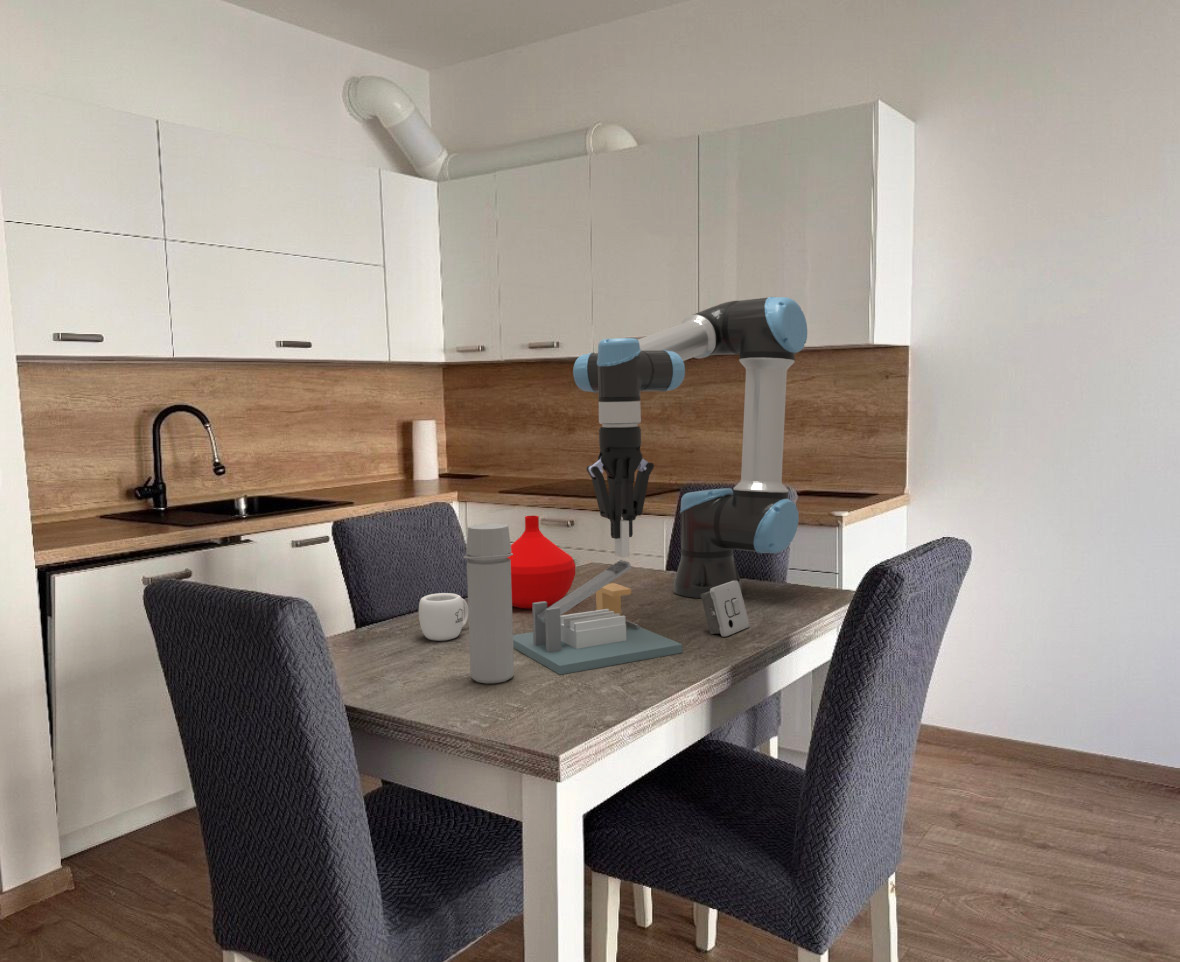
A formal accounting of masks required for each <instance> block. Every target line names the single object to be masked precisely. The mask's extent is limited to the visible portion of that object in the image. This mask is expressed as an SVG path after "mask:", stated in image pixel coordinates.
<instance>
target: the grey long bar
mask: <svg viewBox="0 0 1180 962" xmlns="http://www.w3.org/2000/svg"><path fill="white" fill-rule="evenodd" d="M631 569H632V565H631V563H630V561H626V560H623V559H620V560H618V561H617V562H615V563H614V564H613V565H611V566H609V567H608V568H606V569H604V570H603V571H602V572H600V573H598V574H597V575H595V576H594V577H592V578H591V579H590V580H587V582H585V583H583V584H582V585H581V586H579V587H577V588H576V589H574V590H573V591H571V592H570V593H567V595H565V596H564V598H562V599H561V600H559V601H558V602H556V603H554V604H553V605H551V606H549V607H547V608H554V607H559V608H560V616H562V615H564V613H565V614H566V612H568V611H569V610H571V609H573V608H574V607H575V606H577V605H578V604H580V603H581V602H582V601H584V600H586V599H588V597H591V596H592V595H593V594H596V591H598V590H599V589H601V588H602V587H604V586H605V585H607V584H610V583H612V582H613V581H614V580H616V579H617V578H619V577H621V576H622V575H623V574H625V573H626V572H628V571H629V570H631ZM537 617H538V619H539V621H541V622H543V623H545V610H544V611H542V612H541V613H539V614H538V615H537Z"/></svg>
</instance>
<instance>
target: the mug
mask: <svg viewBox="0 0 1180 962" xmlns="http://www.w3.org/2000/svg"><path fill="white" fill-rule="evenodd" d="M418 619H419V620H418V621H419V624H420V625H419V626H420V628H421V631H422V633H423V635H424V637H425V638H426V639H428V640H430V641H438V642H440V641H449V640H452V639H455V638H457V637H458V636H459V635H460V633H462V629H463V626H465V625H466V623H467V622H468V620H469V615H468V602H467V601H466V599H464V598H462V597H461V595H459V594H456V593H453V592H452V593H450V592H441V593H440V592H438V593H431V594H427V595H424V596H423V597H421V598H420V600H419V605H418Z"/></svg>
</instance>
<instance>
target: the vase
mask: <svg viewBox="0 0 1180 962" xmlns="http://www.w3.org/2000/svg"><path fill="white" fill-rule="evenodd" d="M539 520H540V518H539V515H525V516H524V531H523V533H522V534H521V535H520V537H518V538H517V539H516V540H515V541H514V542H512V543H511V553H513V555H511V556H510V557H507V558H509V559H511V590H512V607H515V608H518V609H519V608H520V609H526V610H528V609H532V610H533V607H532V603H536V602H543V601H545V602H547V608H548V607H550V606H551V605H553V604H554V603H556V602H558V601H559V600H561V599H562V598H564V597H565V596H567V595H566V594H568V592H569V591H570V589H571V588H572V585H573V582H574V580H575V577H576V562H575V561H574V558H573V557H572V556H571V555H570V554H569V553H567V552H566V551H565V550H563V549H562V548H561V547H559V546H558V545H556V544H555V543H554V542H552V540H550V539H549V538H547V536H545V535H544V534H543V533H542V531H541V530H540V523H539V522H540V521H539Z"/></svg>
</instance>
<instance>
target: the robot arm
mask: <svg viewBox="0 0 1180 962" xmlns="http://www.w3.org/2000/svg"><path fill="white" fill-rule="evenodd" d="M807 323H808V322H807V320H806V316H805V314H804V311H803V310H802V307H801V306H800V305H799V304H798V303H797V302H796V301H795V300H794V299H792V298H791V297H786V296H785V297H784V296H781V297H780V296H777V297H776V296H769V297H763V298H752V299H751V298H750V299H744V300H731V301H726V302H723V303H719V304H717V305H714V306H711V307H709V308H706V309H703V310H701V311H699V312H696V313H694V314H693V313H692V314H691V315H689V316H687V317H685V318H684V319H683V321H682V322H681V323H680V324H677V325H674V326H672V327H669V328H665V329H663V330H660V331H657V332H655V333H652V334H649V335H647V336H644V337H640V338H638V339H637V338H633V337H620V338H619V337H618V338H615V337H614V338H612V337H611V338H604V339H601V340H600V341H599V342H598V346H597V352H596V353H595V352H590V353H586V354H585V353H584V354H582V355H579V356H578V358H577V359H576V360H575V362H574V364H573V367H572V368H573V369H572V374H573V378H574V379H573V380H574V383H575V385H576V387H577V388H578V389H579V390H581V391H583V392H589V393H590V392H591V393H592V392H593V393H598V423H599V424H600V425H602V426H601V427H599V429H598V443H599V444H598V446H599V450H600V451H599V454H598V457H597V461H596V462H594V463H593V464H592V465H588V466H587V467H586V472H587V473H588V475H589V477H590V478H591V481H592V485H593V489H594V493H595V498H596V502H597V506H598V511H599V515H600V517H601V518H605V519H608V520H609V522H610V536H611V539H614V555H615V556H617V557H620V558H628V557H630V538H633V534H634V531H633V529H634V527H633V523H634V522H633V521H635V520H636V519H637V517H638V516H642V514H643V512H644V511H643V510H644V506H645V505H644V504H645V499H646V495H647V489H648V483H649V480H650V479H649V478H650V475H651V473H652V471H654V470H653V469H654V468H655V464H654V463H653V462H649V461H647V460H646V459H644V458H643V453H642V452H641V446H642V429H641V427H640V426H638V425H639V424H641V422H642V419H641V418H642V412H641V410H642V408H641V392H668V391H673V390H676V389H678V388H679V387H680V386H681V384H682V383H683V381H684V380H685V379H684V378H685V375H686V373H685V372H686V368H685V363H684V362H685V361H687V360H689V359H692V358H694V359H704V358H707V357H710V356H718V355H719V356H721V355H738V356H739V358H738V359H739V360H738V361H739V363H740V364H741V365H742V366H743V367H744V368H745V382H744V383H745V385H744V386H745V388H744V405H743V409H744V410H743V429H742V430H743V433H742V450H741V451H742V454H741V471H740V473H741V474H740V475H741V477H740V481H739V483H737V484H736V485H734V487H733V489H732V488H731V487H730V488H729V487H728V488H727V487H726V488H725V487H722V488H715V489H705V490H704V489H703V490H698V491H691V492H686V493H684V494H683V495H682V497H681V499H680V511H679V514H680V515H679V516H680V552H681V553H680V555H681V556H680V561H679V564H678V568H677V571H676V573H675V578H674V581H673V592H674V593H675V594H676V595H679V596H681V597H682V596H683V597H686V598H687V597H688V598H694V599H695V598H697V599H701V596H700V594H703V593H706V592H709V591H710V589H711V588H713V587H716V586H719V585H722V584H725V583H728V582H731V581H738V582H739V585H740V589H741V590H742V581H741V578H740V574H739V571H738V569H737V565H736V563H735V559H734V558H735V557H734V550H738V551H739V550H740V551H747V552H756V553H758V554H766V553H767V554H778V553H781V552H783V551H785V550H786V549H787V548H788V547H789V546H790V544H791V543H792V542H793V540H794V538H795V536H796V534H797V531H798V526H799V518H800V517H799V511H798V509H797V508H798V507H797V505H796V503H795V502H794V501H792V500H791V499H789V489H788V488H787V487H786V486H785V485H784V484H783V482H782V480H783V477H782V476H783V458H784V454H783V453H784V440H785V439H784V437H785V421H786V420H785V418H786V417H785V416H786V395H787V378H788V377H787V374H788V369H789V368H790V367H791V366H792V365H794V364H795V358H796V357H795V356H796V354H797V353H800V352H801V351H802V350H804V348H805V344H806V343H807V341H808V324H807ZM636 470H637V473H636V477H635V472H636ZM604 472H605V474H606V479H605V476H604V475H603V473H604ZM606 480H607V483H606ZM607 484H608V485H607ZM607 486H608V489H607Z"/></svg>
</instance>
